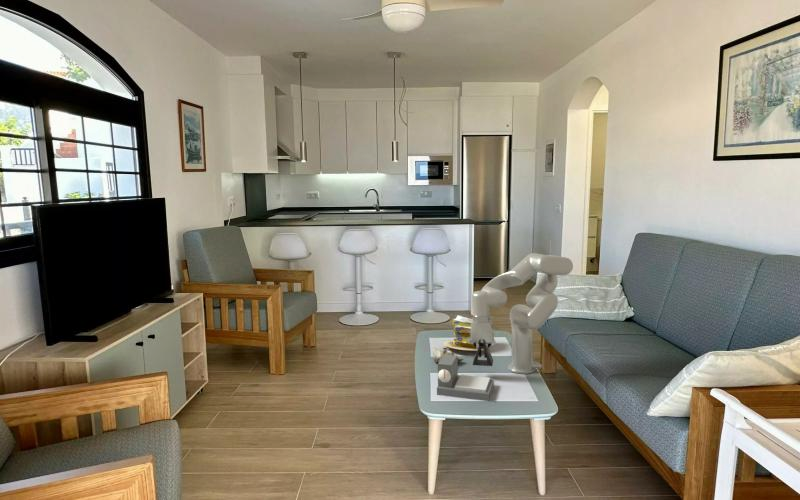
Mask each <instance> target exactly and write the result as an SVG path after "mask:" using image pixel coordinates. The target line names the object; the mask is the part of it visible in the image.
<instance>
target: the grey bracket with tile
mask: <svg viewBox="0 0 800 500" xmlns="http://www.w3.org/2000/svg"><path fill="white" fill-rule="evenodd" d="M457 357H458V354H457V355H455V354H454V355H447V354H444V355H443V357H442V358H441V360H440V361H439V362H437V387H436V395H438V396H446V397H454V398H463V399H470V400H476V401H477V400H478V401H485V402H489V400H490V398H491V395H492V392H493V390H494V387H495V379H494V378H491V377H487V376H478V375H469V374H458V373H459V372H458V363H459V362H457Z"/></svg>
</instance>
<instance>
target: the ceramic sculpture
mask: <svg viewBox="0 0 800 500" xmlns="http://www.w3.org/2000/svg"><path fill="white" fill-rule="evenodd" d="M444 354H447V355H455V353H454V352H453V351H452V350H450V349H447V347H443V348H441V349H440V348H437V347H432V356H433V361H434V363H436V364H438V363H439V361H440V360H441V358H442V357H443V355H444ZM461 361H462V362H463V361H464V359H463V358H460V357H459V356H457V363H459V362H461Z"/></svg>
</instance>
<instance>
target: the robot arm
mask: <svg viewBox="0 0 800 500" xmlns="http://www.w3.org/2000/svg"><path fill="white" fill-rule="evenodd" d="M573 269H574V263H573V261H572V259H570V258H569V257H565V256H559V255H555V254H543V253H537V252H531V253H529V254H527V255H526V256H525V257H524V258H523V259H522V260H520V262H518V263H517V264H516V265H515V266H514V267H513V268H511V269H510V270H509V271H506V272H503V273H501V274H499V275H497V276H495V277H493V278H492V279H491V280H489V281H488V282H487V283H486V284H485V285H484V286H482V288H481V289H480V290H476V291H473V292H472V293H471V304H472V305H471V306H472V319H473V320H472V323H471V338H470V341H469V343H470V344H473V345H474V346H475V347H476V348H477V350H478V347H479V344H478V343H484V341H485V346H486V348H487V350H488V348H489V349H490V347H492V346H495V345H496V344H497V343H496V340H495V331H494V326H493V322H492V321H493V319H494V316H493V315H491V314H490V307H491V308H492V307H502V306H504V305H505V304H506V303H507V300H508V295H507V293H506V292H505V291H503V290H504V289H508V288H511V287H518V286H522V285H524V284H525V283H526V282H527V281H528V280H529V279H530V278H532V276H533V275H535V274H536V273H540V274H541V275H540V278H539V280H538V281H537V282H536V284H535V285H534V286H533V287H532V288H531V289H530V291H529V292H528V293H527V294H526V297H525V302H526V303H527V305H525V304H521V303H518V304H515V305H513V306H512V307H511V308H510V310H509V320H510V327H511V329H510V330H511V356H510V357H511V363H508V365H507V369H508V370H509V372H512V373H515V374H519V375H520V374H521V375H528V374H531V373H532V374H533V373H535V371H536V368H537V369H542V363H541V364H540V362H538V361H537V362H534V358H533V331H536V330H538V329H540V328H542V326H543V325H544V324H545V323H546V322H547V321H548V319H550V318H551V316H552V315H553V313H554V312H555V311H556V309H557V307H558V305H559V300H558V296H557V295H556V294H555V293H554V291H555V290H556V289H557V287H558V276H567V275H569V274H571V272H572V271H573ZM528 305H529V306H528ZM479 340H481V341H480V342H479ZM483 340H484V341H483ZM477 350H476V351H477ZM482 355H483V356H484V357H483V358H486V355H485V352H484V351H483V354H482V350H481V348H480V352H479V357H478V358H481V357H482ZM486 359H487V358H486Z"/></svg>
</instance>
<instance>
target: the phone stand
mask: <svg viewBox="0 0 800 500" xmlns="http://www.w3.org/2000/svg"><path fill="white" fill-rule="evenodd" d="M480 341H481V340H479V342H480ZM483 341H484V340H483ZM478 344H479V347H478V350H476V353H475V356H474V357H473V361H472V366H481V367H482V366H483V367H484V366H485V367H493V363H494V358H493V356H492V354H491V352H490V347H489V348H488V350H487V348H486V346H485V341H484V343H478ZM480 348H483V349H484V350H483V353H484V352H485V355H486V359H479V358H480V357H479V352H480Z"/></svg>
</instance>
